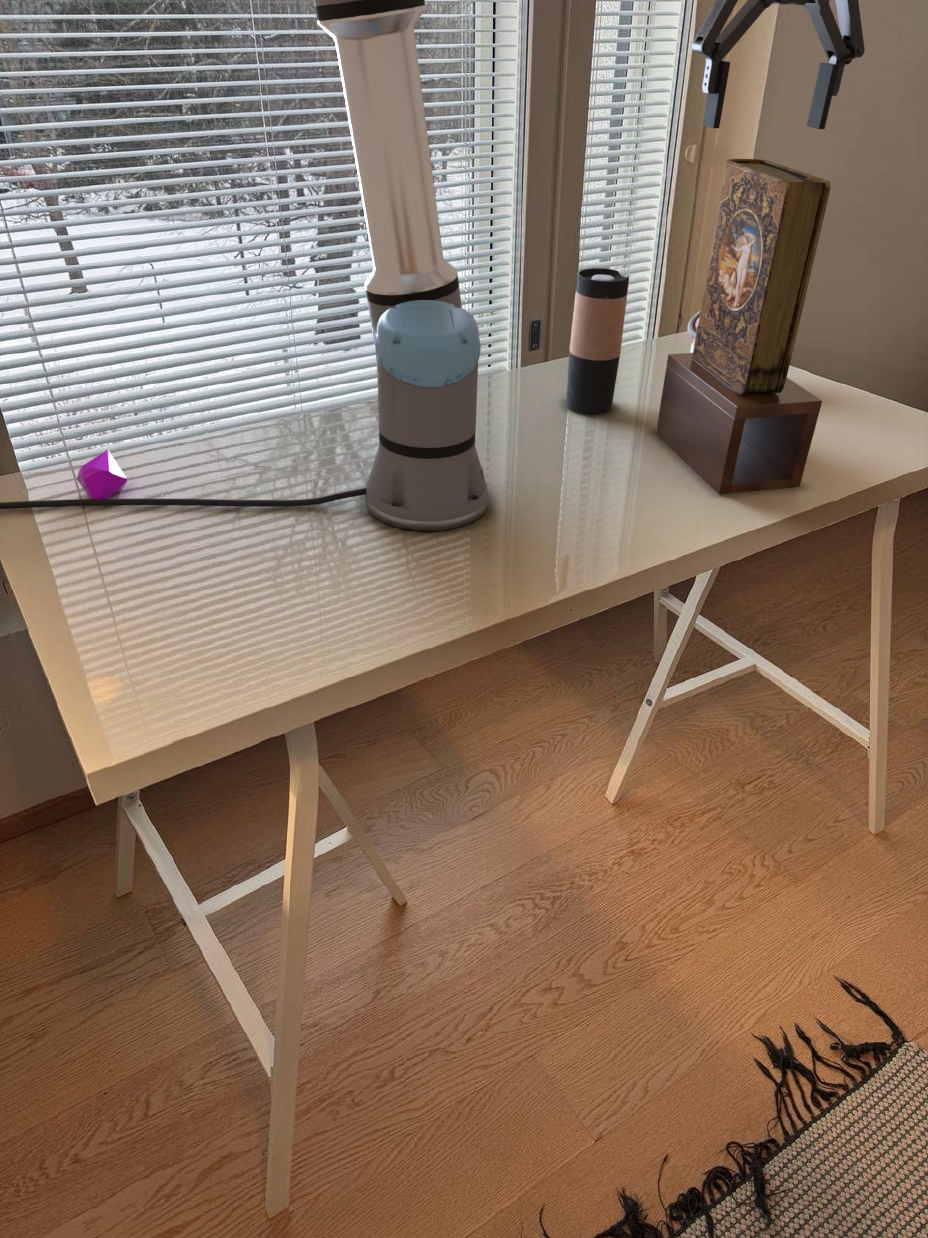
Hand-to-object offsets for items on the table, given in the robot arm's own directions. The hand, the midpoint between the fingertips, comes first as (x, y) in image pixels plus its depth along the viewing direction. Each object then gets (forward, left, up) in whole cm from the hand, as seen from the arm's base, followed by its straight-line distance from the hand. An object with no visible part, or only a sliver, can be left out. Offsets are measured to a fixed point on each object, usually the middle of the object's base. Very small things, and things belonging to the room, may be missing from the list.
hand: (763, 127), depth 108 cm
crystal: (-81, +3, -41) cm, 91 cm away
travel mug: (-10, +20, -41) cm, 47 cm away
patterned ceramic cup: (+14, +27, -41) cm, 51 cm away
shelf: (+2, -2, -41) cm, 41 cm away
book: (+1, -2, -29) cm, 30 cm away
